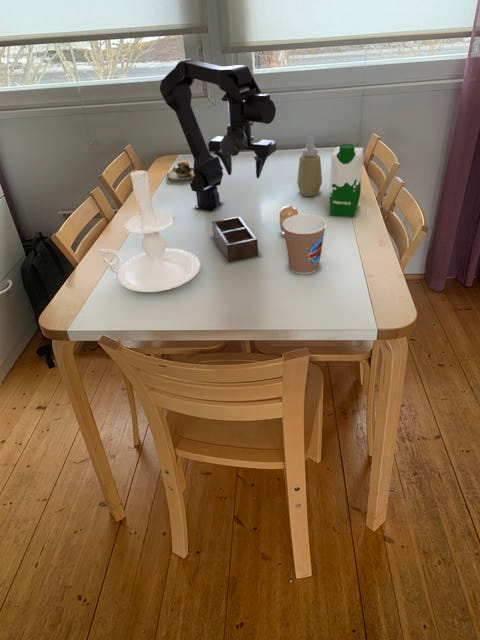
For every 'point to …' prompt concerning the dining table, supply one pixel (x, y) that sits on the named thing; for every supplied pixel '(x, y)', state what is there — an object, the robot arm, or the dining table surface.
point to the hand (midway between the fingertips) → (243, 176)
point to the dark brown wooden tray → (235, 239)
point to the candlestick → (152, 248)
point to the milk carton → (345, 180)
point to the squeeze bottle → (309, 170)
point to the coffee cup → (304, 241)
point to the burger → (181, 171)
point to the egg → (286, 215)
